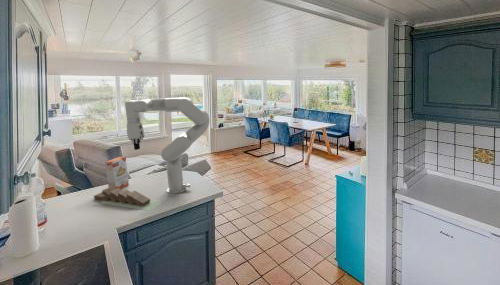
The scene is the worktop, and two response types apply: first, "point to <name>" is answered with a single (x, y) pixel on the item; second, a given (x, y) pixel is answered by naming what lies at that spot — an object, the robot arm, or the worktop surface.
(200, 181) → the worktop surface
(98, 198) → the domino
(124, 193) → the domino
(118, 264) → the worktop surface
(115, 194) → the domino
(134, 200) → the domino
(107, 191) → the domino
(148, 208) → the mat
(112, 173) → the cracker box
